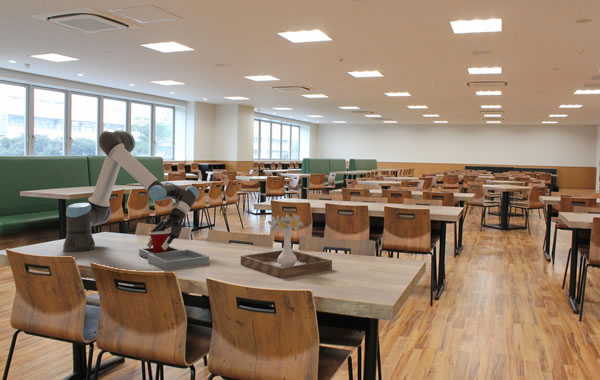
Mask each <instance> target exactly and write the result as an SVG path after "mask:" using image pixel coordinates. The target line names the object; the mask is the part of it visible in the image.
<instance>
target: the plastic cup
mask: <svg viewBox="0 0 600 380" xmlns="http://www.w3.org/2000/svg"><path fill="white" fill-rule="evenodd" d="M148 234H149V237H150V238H151V239H152V247H153V249H154V253H160V252H168V247H169V246H170V245H169V246H168V247H167V249H166V250H164V249H163V248H162V245H163V244H164V242H165V241H166V239H167V237H168V236H170V234H171V230H164V231H158V232H151V231H150V232H149V233H148ZM170 237H171V236H170Z"/></svg>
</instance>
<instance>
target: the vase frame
mask: <svg viewBox="0 0 600 380" xmlns="http://www.w3.org/2000/svg"><path fill="white" fill-rule="evenodd" d="M282 251H283V249H281V250H275V251H267V252H259V253H250V254H246V255H245V254H244V255H240V265H241V266H244V267H247V268H250V269H252V270H257V271H259V272H261V273H265V274H267V275H271V276H273V277H277V278H279V279H280V278H281V279H285V278H286V279H287V278H292V277H297V276H302V275H308V274H313V273H319V272H324V271H330V270H333V260H332V259H328V258H325V257H320V256H317V255H313V254H309V253H305V252H301V251H297V250H293V249H292V252H293V253H294V255H295V256H296V257H297V262H302V263H303V264H297V265H296V264H295V265H294V266H290V267H284V268H282V267H281V266H278V265H276V264H271V263H268V262H271V261H272V262H273V261H277V259H278V256H279V255H280V254H281V253H282Z"/></svg>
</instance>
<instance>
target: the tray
mask: <svg viewBox="0 0 600 380" xmlns="http://www.w3.org/2000/svg"><path fill="white" fill-rule="evenodd" d="M147 262H148V263H150V264H152V265H154V266H156V267H159V268H161V269H163V270H165V271H171V270H176V269H177V270H179V269H184V267H185V268H191V267H198V266H199V267H200V266H205V265H210V256H209V255H206V254H203V253H201V252H198V251H195V250H192V249H183V250H182V249H180V251H172V252H163V253H155V254H148V259H147Z"/></svg>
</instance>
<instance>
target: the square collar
mask: <svg viewBox="0 0 600 380" xmlns="http://www.w3.org/2000/svg"><path fill="white" fill-rule="evenodd" d="M180 250H181V249H179V248H176V247H174V246H171V245H169V247H168V252H172V251H180ZM160 253H163V252H160ZM138 254H139V256H140V257H143V258H145V259H147V260H148V254H155V253H154V249H153V246H151V248H149V247H145V248H144V247H143V248H139V250H138Z"/></svg>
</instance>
